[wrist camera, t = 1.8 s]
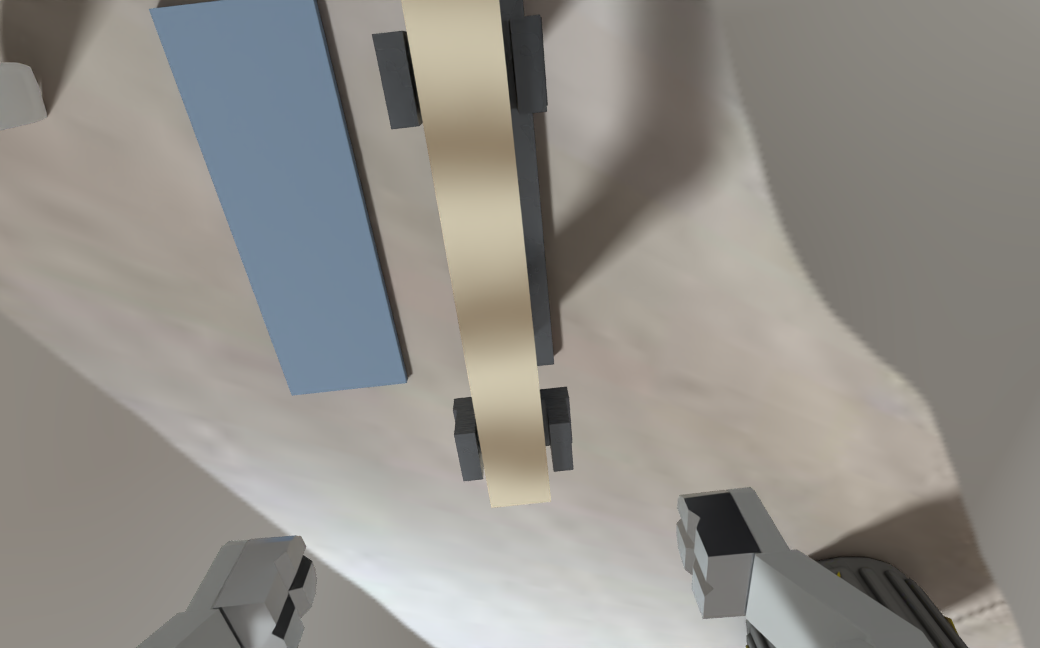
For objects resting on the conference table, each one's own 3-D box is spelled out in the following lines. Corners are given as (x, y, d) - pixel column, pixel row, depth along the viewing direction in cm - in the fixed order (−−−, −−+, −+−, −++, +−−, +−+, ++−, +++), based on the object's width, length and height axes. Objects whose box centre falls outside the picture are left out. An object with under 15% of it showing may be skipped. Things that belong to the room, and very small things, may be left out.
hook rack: (413, -11, 30) (346, -57, 16) (520, -23, 30) (539, -79, 16) (476, 365, 41) (466, 516, 28) (552, 357, 41) (579, 504, 28)
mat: (155, 9, 30) (148, 9, 29) (314, -10, 30) (310, -11, 29) (294, 391, 42) (291, 395, 41) (407, 378, 42) (406, 383, 41)
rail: (413, -1, 19) (399, -9, 16) (496, -11, 19) (497, -20, 16) (491, 465, 29) (491, 507, 26) (546, 460, 29) (551, 501, 26)
